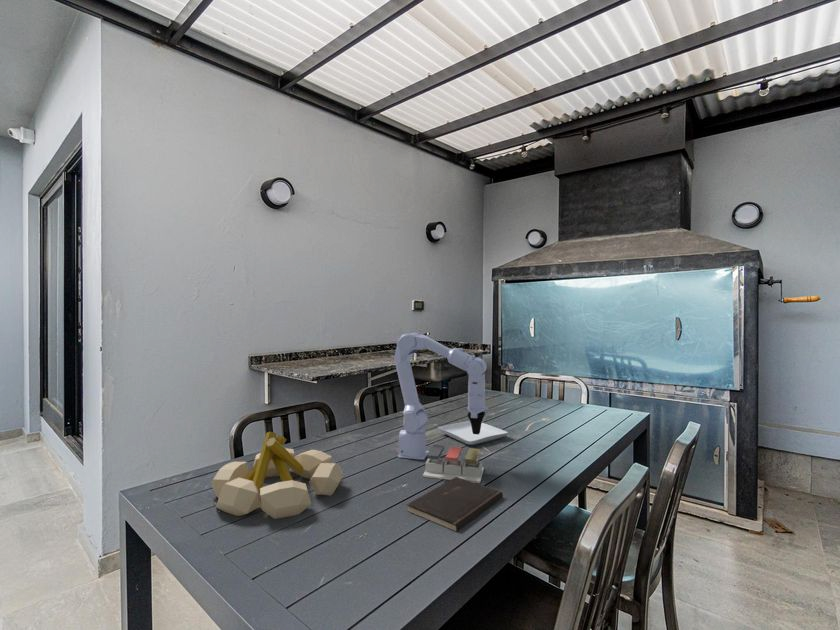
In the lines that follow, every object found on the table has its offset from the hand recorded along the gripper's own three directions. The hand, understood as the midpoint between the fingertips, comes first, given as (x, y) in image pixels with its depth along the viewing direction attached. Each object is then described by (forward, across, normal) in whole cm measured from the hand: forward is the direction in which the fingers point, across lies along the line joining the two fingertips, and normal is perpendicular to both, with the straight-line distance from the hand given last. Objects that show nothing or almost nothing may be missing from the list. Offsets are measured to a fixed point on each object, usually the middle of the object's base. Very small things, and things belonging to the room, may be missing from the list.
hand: (476, 433), depth 142 cm
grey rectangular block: (+8, -10, +12) cm, 17 cm away
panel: (+10, -10, +6) cm, 15 cm away
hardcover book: (+11, -30, +2) cm, 32 cm away
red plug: (+8, -10, +6) cm, 14 cm away
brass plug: (+8, -10, 0) cm, 12 cm away
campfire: (+11, -35, +53) cm, 65 cm away
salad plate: (+11, +30, +5) cm, 32 cm away
